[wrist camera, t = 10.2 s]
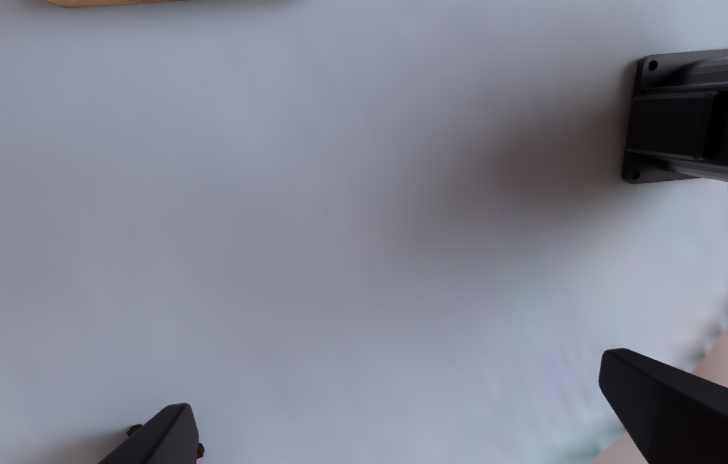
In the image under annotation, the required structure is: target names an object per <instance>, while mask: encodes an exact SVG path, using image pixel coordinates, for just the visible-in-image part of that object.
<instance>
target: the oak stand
mask: <svg viewBox="0 0 728 464" xmlns="http://www.w3.org/2000/svg"><path fill="white" fill-rule="evenodd" d="M47 1H49V2H52V3H55V4H57V5H60V6H62V7H65V8H70V7H86V6H102V5H117V4H133V3H149V2H165V1H181V0H47Z"/></svg>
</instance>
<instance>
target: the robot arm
mask: <svg viewBox="0 0 728 464" xmlns="http://www.w3.org/2000/svg"><path fill="white" fill-rule="evenodd" d="M649 63H651V68H650V70H649V69H648V64H649ZM633 172H634V173H635V174H634V176H633V177H632V178H631V175H632V173H633ZM702 177H703V178H709V179H715V180H720V181H726V182H728V49H722V50H709V51H696V52H683V53H670V54H657V55H650V56H646V57H644V58H642V59H641V60H640V61H639V63H638V66H637V71H636V78H635V85H634V92H633V99H632V106H631V113H630V120H629V127H628V134H627V141H626V147H625V154H624V161H623V168H622V180H623V181H624V182H626V183H630V184H641V183H651V182H661V181H671V180H682V179H692V178H702ZM599 386H600V389H601V391H602V393H603V395H604V396H605V398H606V399H607V401H608V402H609V404H610V405H611V407H612V409H613V410H614V412H615V413H616V415H617V416H618V418H619V419H620V421H621V423H622V424H623V426H624V427H625V429H626V430H627V432H628V433H629V435H630V436H631V438H632V440H633V441H634V443H635V444H636V446H637V447H638V449H639V450H640V452H641V453H642V455H643V456H644V458H645V459H646V461H647V462H648V463H649V464H728V388H726V387H724V386H721V385H718V384H716V383H714V382H711V381H708V380H706V379H703V378H701V377H698V376H695V375H693V374H690V373H688V372H685V371H683V370H680V369H678V368H675V367H672V366H670V365H667V364H665V363H662V362H660V361H657V360H654V359H652V358H649V357H647V356H644V355H642V354H639V353H636V352H634V351H631V350H629V349H626V348H617V349H609V350H606V351H604V353H603V355H602V360H601V367H600V373H599ZM198 443H199V434H198V430H197V426H196V423H195V419H194V415H193V412H192V409H191V406H190V405H189V404H188V403H180V404H172V405H168V406H166V407H165V408H163V409H162V410H161V411H160V412H159V413H157V414H156V415H155V416H154V417H153V418H151V419H150V420H149V421H148V422H147V423H146V424H144V425H143V426H142V427H141V428H140V429H138V430H137V431H136V432H135V433H134V434H132V435H131V436H130V437H129V438H128V439H126V440H125V441H124V442H123V443H122V444H121V445H119V446H118V447H117V448H116V449H115V450H113V451H112V452H111V453H110V454H109V455H107V456H106V457H105V458H104V459H103V460H102V461H100V462H99V463H98V464H194V462H195V457H196V453H197V448H198Z"/></svg>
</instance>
